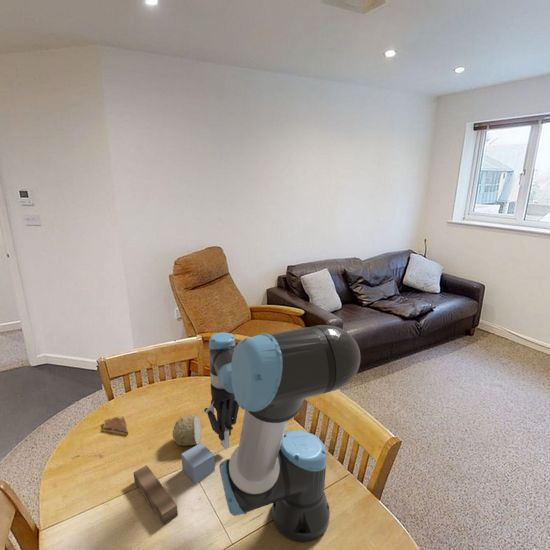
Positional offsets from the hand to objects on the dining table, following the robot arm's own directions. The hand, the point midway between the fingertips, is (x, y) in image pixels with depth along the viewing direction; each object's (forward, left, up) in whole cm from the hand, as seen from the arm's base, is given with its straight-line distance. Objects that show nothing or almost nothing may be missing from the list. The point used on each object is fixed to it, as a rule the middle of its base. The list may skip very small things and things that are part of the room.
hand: (225, 445), depth 114 cm
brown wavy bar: (0, +24, -3) cm, 24 cm away
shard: (+36, +20, -3) cm, 41 cm away
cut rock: (+13, +6, -3) cm, 14 cm away
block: (0, +10, -3) cm, 10 cm away
